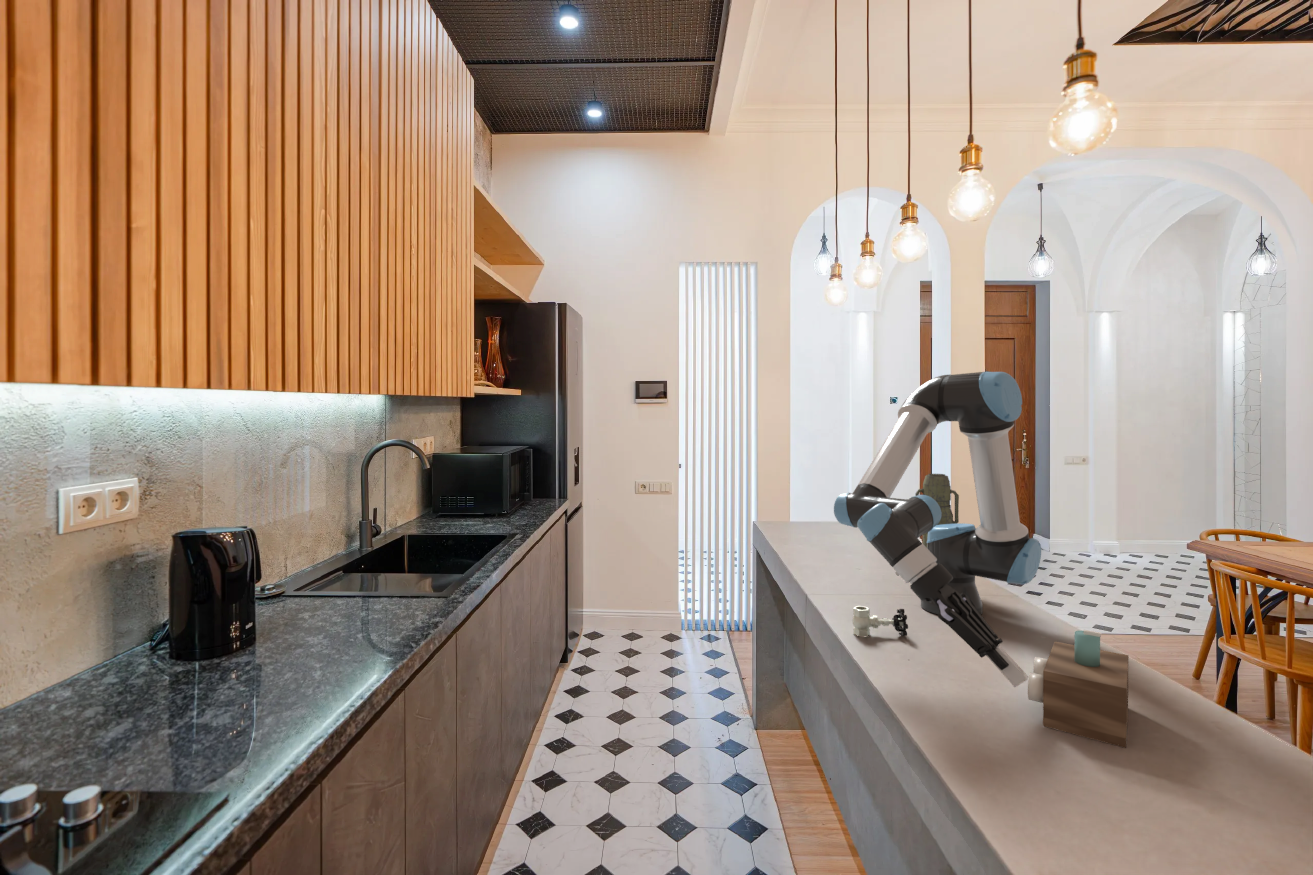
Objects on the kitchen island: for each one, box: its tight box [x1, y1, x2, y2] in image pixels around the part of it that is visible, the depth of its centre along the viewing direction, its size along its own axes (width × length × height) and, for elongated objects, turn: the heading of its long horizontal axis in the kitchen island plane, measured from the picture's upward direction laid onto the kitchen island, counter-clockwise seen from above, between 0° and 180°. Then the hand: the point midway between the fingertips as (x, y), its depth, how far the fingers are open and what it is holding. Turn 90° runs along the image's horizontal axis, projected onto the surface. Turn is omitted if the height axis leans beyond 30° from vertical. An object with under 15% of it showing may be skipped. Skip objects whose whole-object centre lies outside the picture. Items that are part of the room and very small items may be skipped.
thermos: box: [914, 473, 960, 548], centre depth 180 cm, size 9×12×35 cm
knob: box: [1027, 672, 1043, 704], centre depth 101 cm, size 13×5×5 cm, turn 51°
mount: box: [1042, 641, 1129, 749], centre depth 103 cm, size 16×11×10 cm, turn 141°
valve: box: [851, 605, 909, 637], centre depth 144 cm, size 7×7×12 cm
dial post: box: [1074, 629, 1102, 667], centre depth 103 cm, size 4×4×6 cm
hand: (1021, 681), depth 105 cm, fingers closed
